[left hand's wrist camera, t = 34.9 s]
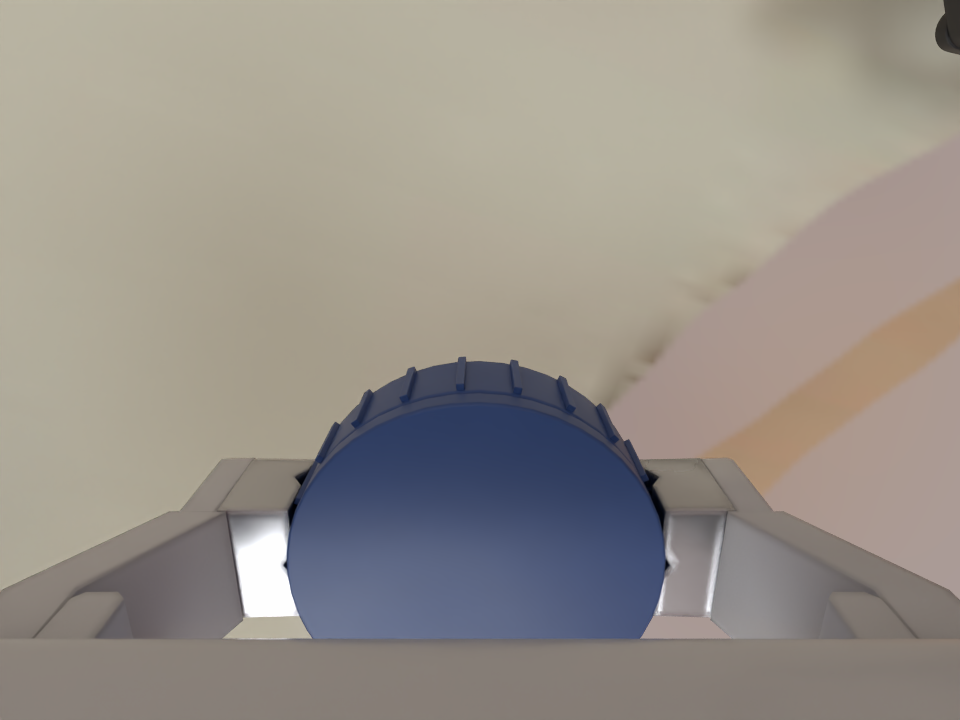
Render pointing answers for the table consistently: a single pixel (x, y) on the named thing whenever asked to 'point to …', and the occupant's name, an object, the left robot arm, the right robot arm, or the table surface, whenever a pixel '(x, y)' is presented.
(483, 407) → the lid
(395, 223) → the table surface
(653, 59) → the table surface
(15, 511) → the table surface
